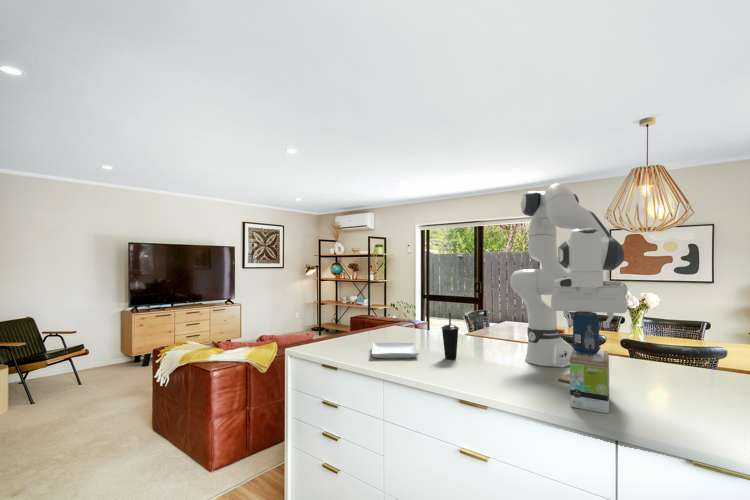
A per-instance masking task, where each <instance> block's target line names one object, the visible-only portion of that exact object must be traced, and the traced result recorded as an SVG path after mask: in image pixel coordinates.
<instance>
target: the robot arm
mask: <svg viewBox="0 0 750 500" xmlns="http://www.w3.org/2000/svg"><path fill="white" fill-rule="evenodd" d="M579 200H580V199H579V197H578V195H577V194H576V193H574V192H572V190H571V189H570V188H569V186H567V185H565V184H563V183H555V184H554V183H553V184H552V185H550V186H549V187H547V188H546V190H539V191H538V190H537V191H536V190H533V191H532V190H531V191H527V192H525V193H524V194H523V197H522V198H521V202H520V208H521V211H522V213H523V215H525V216H527V217H531V219H530V222H529V228H528V246H527V253H528V256H529V257H530V258H531V259H532V260H535V261H536V262H538V263H540V264H541V268H535V269H534V268H524V269H519V270H515V271H513V273H512V274H511V276H510V279H509V282H510V283H509V285H510V288H511V289H512V291H513V292H514V293H516V294H517V295H518V296H519V297H520V298H521V300H522V301H523V303H524V305H525V308H526V312H527V322H528V326H527V329H526V332H527V338H528V339H527V349H526V354H525V362H527V363H529V364H532V365H536V366H544V367H555V368H564V367H568V366H570V356H571V354H572V351H573V349H574V348H573V345H571V344H570V343H568V342H567V341H566V340H564V339H563V338H562V337H561V335H565V334H566V330H565V329H562V328H559V329H558V318H557V312H563V316H564V317H565V319H566V321H567V327H573V319H570V318H569V313H570V312H593V313H603V314H604V313H606V315H607V318H606V320H604V321H602V326H603V329H610V328H611V327H610V323H611V322H612V320H613V318H614V317H615V316H614V314H625V313H627V312H628V310H629V308H628V301H627V297H626V296H627V295H628V286H627V285H626V283H624V282H622V281H619V280H616V281H611V280H607V281H606V280H605V279H604V271H611V272H612V271H614V270H616V269H618V268H619V266H621V265H622V264H623V262H624V260H625V251H624V248H623V246H622V244H621V243H620V242H619V241H618V240H616V239H615V237H613V236H612V234H611V233H610V232H609V230H607V228H606V227H605V225H604V224H603V223H602V222H601V220H600V218H598V216H597V215H596V214H595V213H594V212H592V211H591V210H589V209H587V208H585V207H583V206H582V205H581V204H580V201H579ZM557 228H561V229H567V230H571V231H570V236H569V239H568V240H567V241H564V242H562V243H561V244H560V245H559V246H558V247H557ZM557 248H558V250H557ZM542 296H551V297H550V304H549V303H547V302H545V301H544V300H543V297H542Z"/></svg>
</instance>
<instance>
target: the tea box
mask: <svg viewBox="0 0 750 500" xmlns="http://www.w3.org/2000/svg"><path fill="white" fill-rule="evenodd" d="M609 354H610V353H609V351H608V350H602V349H599V351H598V352H597V354H595V355H587V354H580V353H577V352H576V351H575V350H574V348H573V351H572V354H571V356H570V365H569V373H570V383H569V389H570V391H569V395H570V396H569V399H570V401H569V403H570V405H569V406H570V407H572V408H576V409H580V410H587V411H591V412H598V413H602V414H604V413H605V414H609V413H610V412H609V411H610V358H609V357H610V356H609Z"/></svg>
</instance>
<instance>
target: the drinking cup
mask: <svg viewBox="0 0 750 500" xmlns="http://www.w3.org/2000/svg"><path fill="white" fill-rule="evenodd" d="M451 316H452V314H451V313H450V312H449V313H448V323H449V324H445V325H444V326H441V331H442V341H443V349H444V358H445V360H450V361H454V360H457V355H458V354H457V352H458V337H459V336H458V335H459V330H460V327H459V326H456V325H455V324H452V319H451Z"/></svg>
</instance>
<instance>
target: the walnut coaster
mask: <svg viewBox="0 0 750 500" xmlns="http://www.w3.org/2000/svg"><path fill="white" fill-rule="evenodd" d="M557 380H558V382H561V383H562V382H563V383H568V384H570V372H569V373H566V374H565V375H563V376H561V377H559V378H558V379H557Z"/></svg>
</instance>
